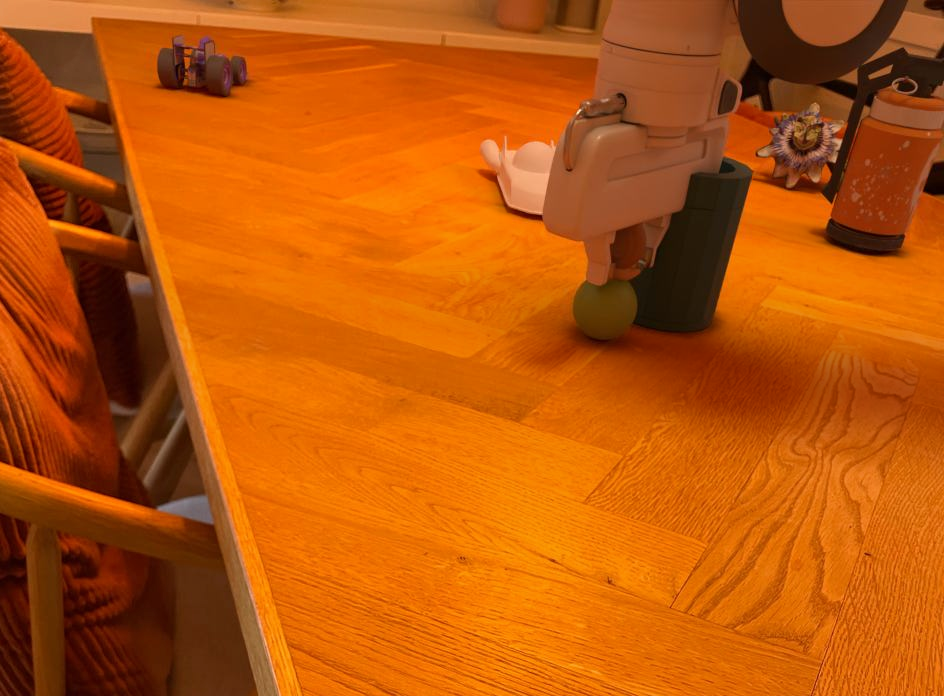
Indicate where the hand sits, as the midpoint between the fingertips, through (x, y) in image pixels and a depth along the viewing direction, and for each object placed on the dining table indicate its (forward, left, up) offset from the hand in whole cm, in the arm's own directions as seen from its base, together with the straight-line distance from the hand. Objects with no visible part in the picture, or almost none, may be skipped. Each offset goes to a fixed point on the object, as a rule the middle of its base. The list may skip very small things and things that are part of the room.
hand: (619, 275), depth 83 cm
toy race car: (+92, -28, -6) cm, 96 cm away
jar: (+1, -9, -5) cm, 11 cm away
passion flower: (+18, -71, -6) cm, 74 cm away
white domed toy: (+31, -28, -6) cm, 43 cm away
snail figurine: (+1, +1, -6) cm, 6 cm away
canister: (0, -52, -5) cm, 52 cm away
